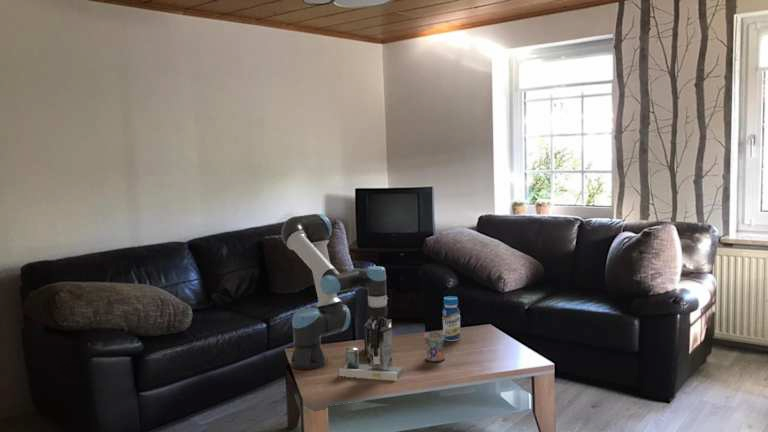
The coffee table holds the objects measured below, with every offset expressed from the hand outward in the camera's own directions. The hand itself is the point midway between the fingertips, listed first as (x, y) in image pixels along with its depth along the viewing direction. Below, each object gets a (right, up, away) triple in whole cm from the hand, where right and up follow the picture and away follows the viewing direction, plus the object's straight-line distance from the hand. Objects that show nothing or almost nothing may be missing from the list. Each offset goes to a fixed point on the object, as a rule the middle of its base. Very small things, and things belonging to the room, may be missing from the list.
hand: (380, 360), depth 248 cm
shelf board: (-4, -6, +2) cm, 7 cm away
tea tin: (-11, -4, +4) cm, 13 cm away
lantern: (-1, -3, +30) cm, 30 cm away
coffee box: (0, -3, 0) cm, 3 cm away
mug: (+23, -3, +17) cm, 29 cm away
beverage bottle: (+34, 0, +43) cm, 55 cm away
